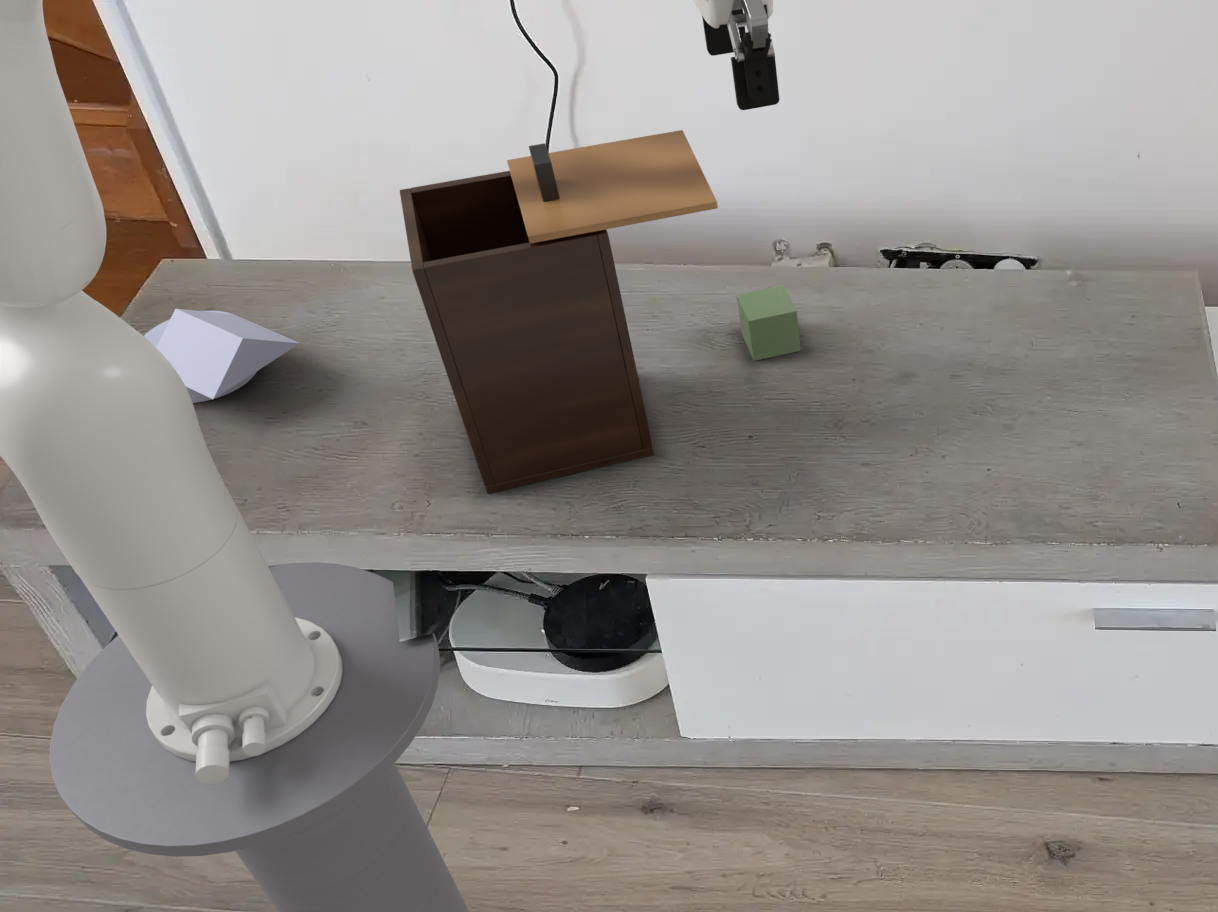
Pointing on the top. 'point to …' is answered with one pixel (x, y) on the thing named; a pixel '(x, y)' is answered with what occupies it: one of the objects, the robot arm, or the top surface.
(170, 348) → the white faceted chunk
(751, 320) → the block
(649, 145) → the lid
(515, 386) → the box
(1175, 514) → the top surface
